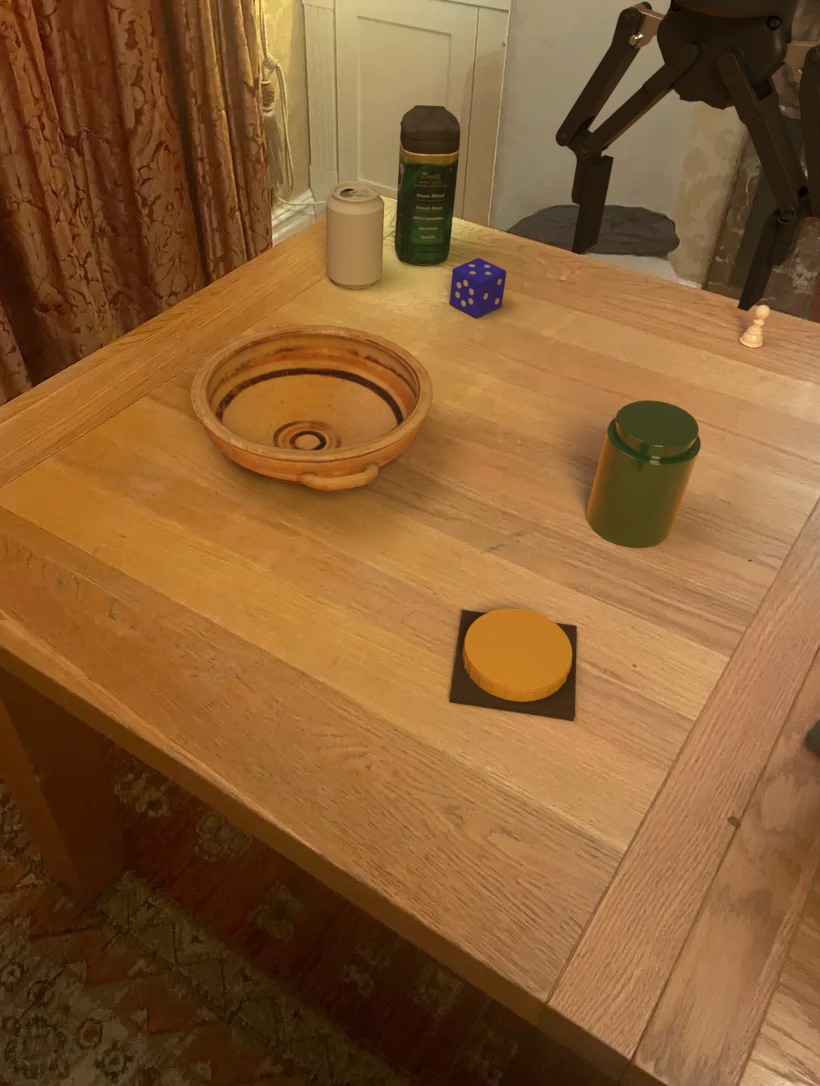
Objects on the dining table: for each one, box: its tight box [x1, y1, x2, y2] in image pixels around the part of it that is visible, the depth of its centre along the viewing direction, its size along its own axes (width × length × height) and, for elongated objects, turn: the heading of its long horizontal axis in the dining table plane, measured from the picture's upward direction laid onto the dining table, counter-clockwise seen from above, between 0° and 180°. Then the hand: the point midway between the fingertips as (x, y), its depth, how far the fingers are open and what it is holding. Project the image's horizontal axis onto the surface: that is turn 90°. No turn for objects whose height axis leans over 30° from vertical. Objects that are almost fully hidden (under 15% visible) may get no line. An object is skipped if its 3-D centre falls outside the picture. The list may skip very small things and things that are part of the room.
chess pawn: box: [739, 304, 771, 349], centre depth 112 cm, size 3×3×5 cm
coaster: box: [448, 609, 578, 722], centre depth 76 cm, size 10×10×1 cm
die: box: [449, 257, 507, 319], centre depth 117 cm, size 5×5×5 cm
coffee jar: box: [394, 104, 461, 266], centre depth 123 cm, size 10×8×19 cm
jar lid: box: [462, 607, 572, 702], centre depth 75 cm, size 9×9×2 cm
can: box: [325, 180, 385, 290], centre depth 119 cm, size 8×8×12 cm
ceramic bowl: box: [190, 321, 434, 492], centre depth 94 cm, size 30×24×8 cm
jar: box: [585, 399, 702, 549], centre depth 86 cm, size 8×8×12 cm
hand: (663, 274), depth 68 cm, fingers open, 13 cm apart
